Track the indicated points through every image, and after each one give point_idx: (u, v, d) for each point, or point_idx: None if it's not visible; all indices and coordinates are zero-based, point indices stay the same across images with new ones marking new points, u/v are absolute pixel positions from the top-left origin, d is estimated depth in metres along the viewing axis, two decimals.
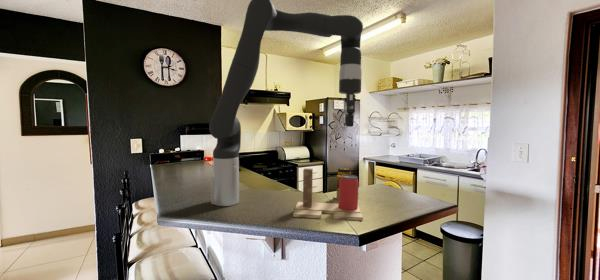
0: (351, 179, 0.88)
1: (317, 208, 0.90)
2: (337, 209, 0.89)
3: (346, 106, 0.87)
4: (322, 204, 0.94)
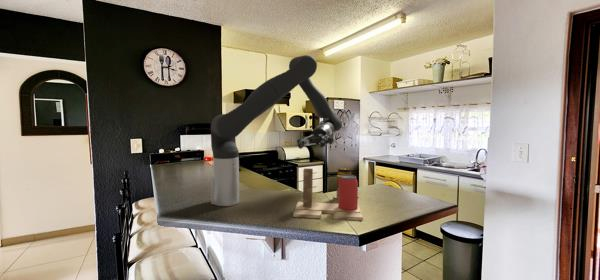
0: (349, 179, 0.87)
1: (317, 208, 0.90)
2: (337, 209, 0.89)
3: None
4: (322, 204, 0.94)
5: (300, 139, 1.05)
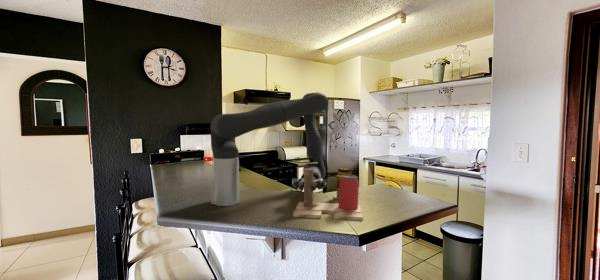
0: (350, 179, 0.88)
1: (318, 208, 0.90)
2: (338, 209, 0.89)
3: (315, 180, 0.96)
4: (323, 204, 0.94)
5: (298, 181, 0.96)
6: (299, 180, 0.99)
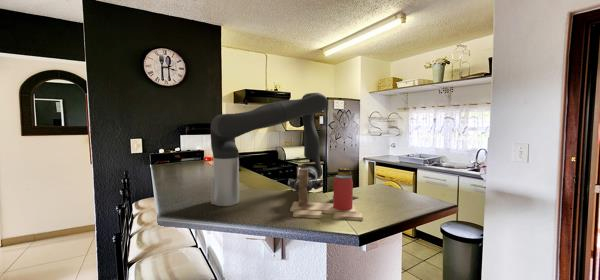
0: (344, 179, 0.88)
1: (313, 208, 0.90)
2: (332, 209, 0.89)
3: (311, 181, 0.96)
4: (318, 204, 0.94)
5: (294, 181, 0.96)
6: (295, 180, 0.99)
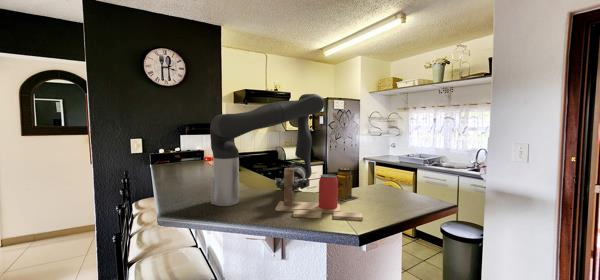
0: (329, 178, 0.89)
1: (298, 207, 0.91)
2: (317, 208, 0.90)
3: (297, 180, 0.96)
4: (304, 203, 0.95)
5: (280, 180, 0.96)
6: (282, 180, 1.00)
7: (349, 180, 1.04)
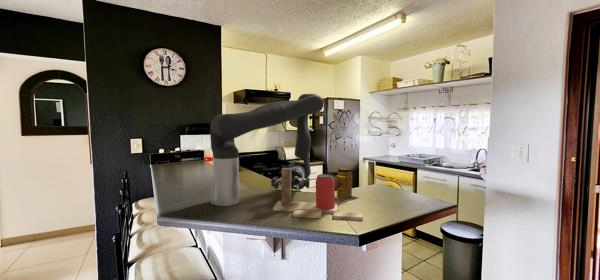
0: (325, 178, 0.89)
1: (295, 207, 0.91)
2: (315, 208, 0.90)
3: (300, 179, 0.97)
4: (301, 203, 0.95)
5: (275, 179, 0.98)
6: None
7: (349, 180, 1.04)
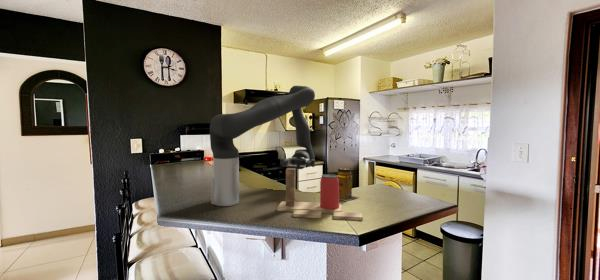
0: (330, 178, 0.89)
1: (299, 207, 0.91)
2: (319, 208, 0.90)
3: None
4: (305, 203, 0.95)
5: (283, 159, 1.09)
6: None
7: (349, 180, 1.04)
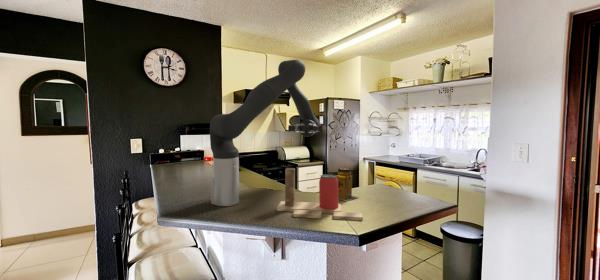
0: (329, 178, 0.89)
1: (299, 207, 0.91)
2: (318, 208, 0.90)
3: (314, 125, 1.09)
4: (305, 203, 0.95)
5: (291, 125, 1.10)
6: None
7: (349, 180, 1.04)
